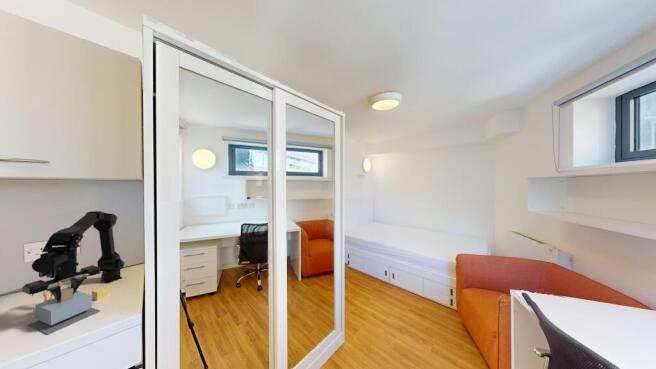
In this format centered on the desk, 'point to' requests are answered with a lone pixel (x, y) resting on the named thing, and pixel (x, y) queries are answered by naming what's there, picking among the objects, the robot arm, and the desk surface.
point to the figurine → (50, 292)
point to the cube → (100, 293)
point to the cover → (63, 306)
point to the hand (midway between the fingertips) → (65, 298)
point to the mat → (62, 322)
